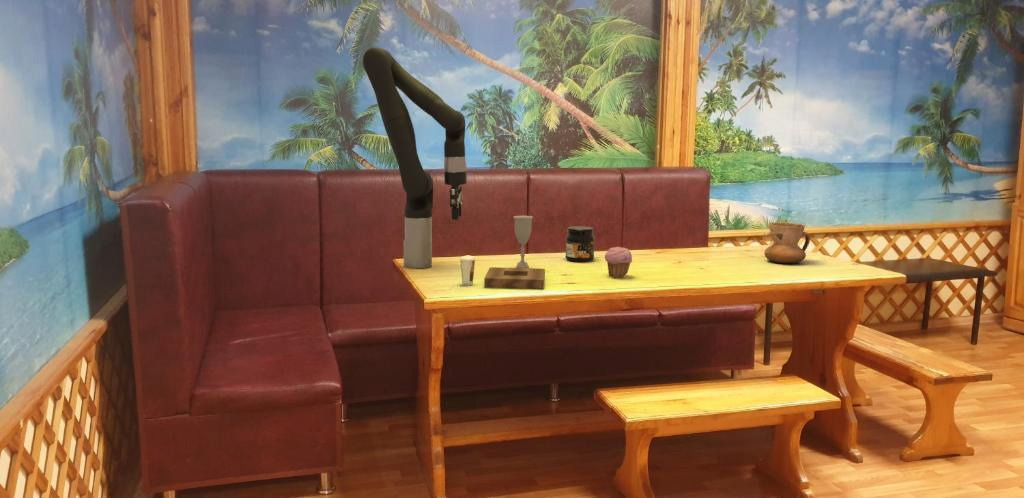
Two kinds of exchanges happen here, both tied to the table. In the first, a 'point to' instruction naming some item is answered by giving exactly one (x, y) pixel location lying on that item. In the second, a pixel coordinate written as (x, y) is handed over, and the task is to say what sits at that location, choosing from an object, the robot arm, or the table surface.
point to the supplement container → (580, 244)
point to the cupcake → (618, 261)
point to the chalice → (523, 235)
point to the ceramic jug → (786, 242)
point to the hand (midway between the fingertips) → (456, 217)
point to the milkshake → (467, 269)
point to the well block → (515, 278)
